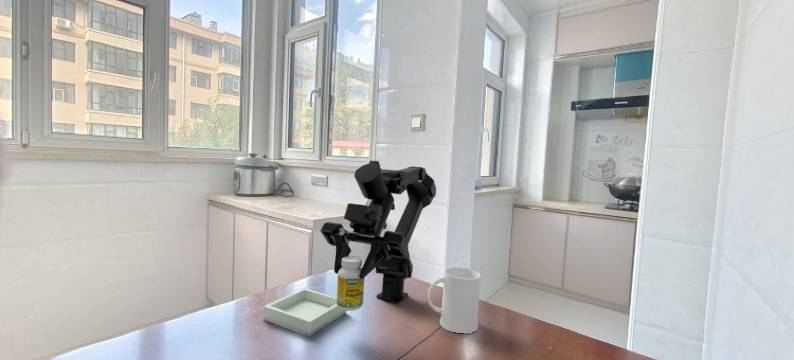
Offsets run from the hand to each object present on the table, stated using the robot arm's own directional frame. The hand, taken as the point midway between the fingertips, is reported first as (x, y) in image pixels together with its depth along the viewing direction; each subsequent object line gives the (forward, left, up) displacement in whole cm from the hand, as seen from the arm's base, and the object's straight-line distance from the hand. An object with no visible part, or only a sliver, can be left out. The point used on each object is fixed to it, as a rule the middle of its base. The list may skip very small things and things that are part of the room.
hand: (347, 275), depth 66 cm
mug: (-18, +16, -13) cm, 28 cm away
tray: (-3, -13, -13) cm, 18 cm away
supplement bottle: (-1, 0, -7) cm, 7 cm away
